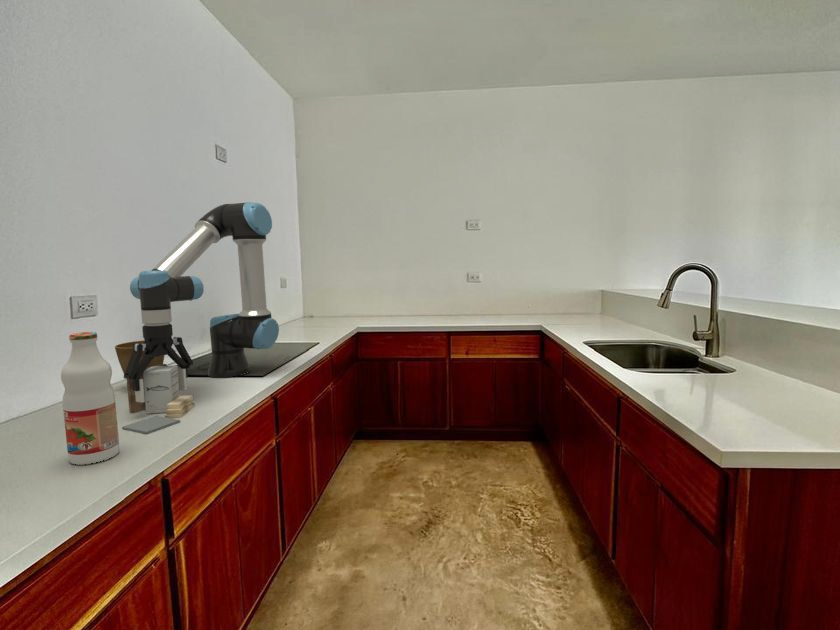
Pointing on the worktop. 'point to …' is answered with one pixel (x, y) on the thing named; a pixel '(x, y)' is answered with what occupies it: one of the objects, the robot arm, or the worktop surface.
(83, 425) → the fruit juice
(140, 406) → the walnut rack
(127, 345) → the plant pot
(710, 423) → the worktop surface
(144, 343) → the robot arm
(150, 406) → the supplement box
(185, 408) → the pine offcuts
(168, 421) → the slate mat
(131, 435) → the worktop surface
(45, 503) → the worktop surface
